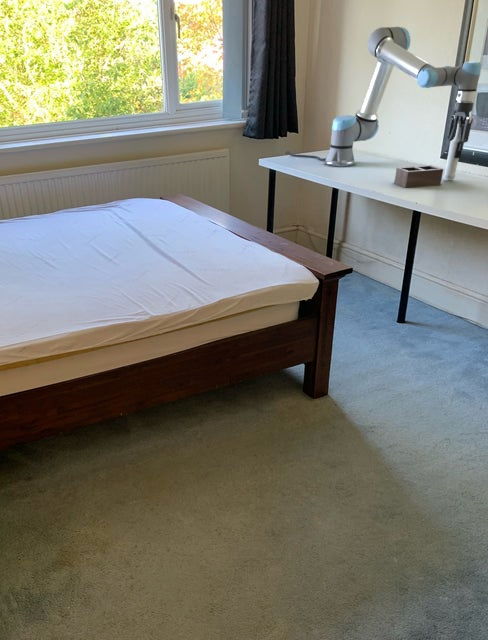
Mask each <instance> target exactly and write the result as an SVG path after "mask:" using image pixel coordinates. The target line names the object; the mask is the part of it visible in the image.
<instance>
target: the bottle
mask: <svg viewBox="0 0 488 640" xmlns="http://www.w3.org/2000/svg"><path fill="white" fill-rule="evenodd" d="M459 129H460V127H459V124H458V125H457V131H456V136H455V137H454V139H453V140H452V141H451V142H450V147H449V153H448V156H447V159H446V164H445V169H444V174H443V179H444V180H447V181H451V180H455V178H456V172H457V168H458V163H459V159H460V158H454V156H455V151H456V147H457V142H459Z"/></svg>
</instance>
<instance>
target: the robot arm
mask: <svg viewBox="0 0 488 640" xmlns="http://www.w3.org/2000/svg"><path fill="white" fill-rule="evenodd" d="M410 46H411V35H410V33H409V30H408V29H407V28H405V27H402V26H388V27H378V28H376V29H374V30H373V31H372V32H371V33H370V35H369V36H368V39H367V49H368V52H369V54H370V55H372V56H373V57H375V58H376V64H375V66H374V69H373V72H372V75H371V76H370V77H371V78H370V81H369V83H368V85H367V89H366V91H365V95H364V98H363V100H362V102H361V103H362V104H361V107H360V109H358V110H356V112H355V115H352V114H351V115H349V114H347V115H340V116H338V117H336V118H334V119H333V120H332V126H331V135H330V136H331V137H330V146H329V151H328V153H327V156H326V157H324V158H323V157H322V158H321V157H319V156H317V155H310V154H309V155H308V154H293V153H291V152H290V151H288V150H287V151H286V152H285V153H284V154H285V155H289V157H299V158H300V157H301V158H313V159H318V160H319V161H324V162H325V163H324V164H325V165H326V166H330V167H336V168H337V167H339V168H341V167H343V168H344V167H351V166H354V165H355V156H354V151H353V147H354V143H355V142H362V141H363V142H364V141H368V140H371V139H373V138H374V137H375V136H376V134H377V133H378V131H379V126H380V125H379V120H378V118H379V116H378V114H377V113H378V110H379V107H380V104H381V102H382V99H383V96H384V94H385V92H386V88H387V85H388V83H389V81H390V77H391V75H392V72H393V69H394V68H397V69H399V70H400V71H402V72H403V73H405V74H407V75H408V76H410V77H411V78H413V79H414V80H416V82H417V84H418V86H419V87H420V88H425V89H430V88H436V87H449V86H451V87H458V89H457V95H456V102H455V104H454V109H453V110H454V112H455V113H454V114H452V115H450V116H449V125H448V129H447V134H446V139H448V146H447V153H446V157H448V153H449V147H450V142H451V141H452V140H453V139H454V137H455V136H456V131H457V125H458V124H459V127H460V129H459V142H457V147H456V151H455V156H454V158H459V159H461V158H462V157H461V156H462V151H463V149H464V144H465V143H468V142H469V138H470V132H471V128H472V125H473V122H474V117H473V118H472V117H470V113H471V112H473V109H474V102H475V100H476V96H477V91H478V85H479V80H480V76H481V71H482V63H481V61H465V62H464V63H463V65H462V66H452V65H445V66H439V67H435V66H434V65H431V64H430V63H429V62H427V61H425V60H424V59H422V58H420V56H417V55H416V54H413V53H412V52H410V51H409V50H410V49H409V48H410Z"/></svg>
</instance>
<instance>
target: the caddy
mask: <svg viewBox="0 0 488 640" xmlns="http://www.w3.org/2000/svg"><path fill="white" fill-rule="evenodd" d="M443 173H444V168H441V167H439V166H435V165H432V164H431V165H430V164H429V165H415V166H403V167H402V166H401V167H396V171H395V176H394V184H395V185H398V186H400V187H402V188H405V189H407V188H409V189H410V188H419V187H420V188H421V187H432V186H440V185H441V184H442V179H443V175H444V174H443Z"/></svg>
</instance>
